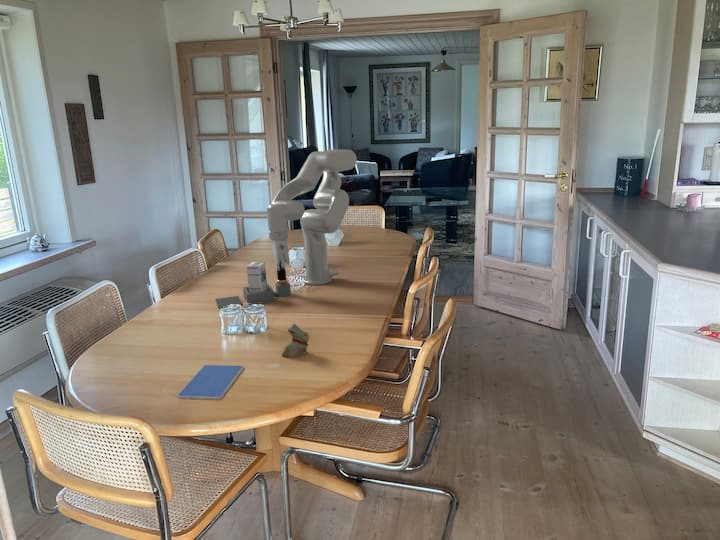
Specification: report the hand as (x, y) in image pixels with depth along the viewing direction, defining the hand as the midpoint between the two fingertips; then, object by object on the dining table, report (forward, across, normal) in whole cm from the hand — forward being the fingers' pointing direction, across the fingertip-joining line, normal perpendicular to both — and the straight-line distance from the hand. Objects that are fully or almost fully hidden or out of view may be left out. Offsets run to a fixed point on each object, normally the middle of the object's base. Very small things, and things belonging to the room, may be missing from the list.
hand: (281, 279), depth 230 cm
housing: (+7, 0, +6) cm, 9 cm away
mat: (+7, 0, +22) cm, 23 cm away
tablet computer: (+8, -69, +35) cm, 78 cm away
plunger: (+6, 0, 0) cm, 6 cm away
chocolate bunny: (+7, -60, +9) cm, 61 cm away
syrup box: (+7, 0, +10) cm, 12 cm away
